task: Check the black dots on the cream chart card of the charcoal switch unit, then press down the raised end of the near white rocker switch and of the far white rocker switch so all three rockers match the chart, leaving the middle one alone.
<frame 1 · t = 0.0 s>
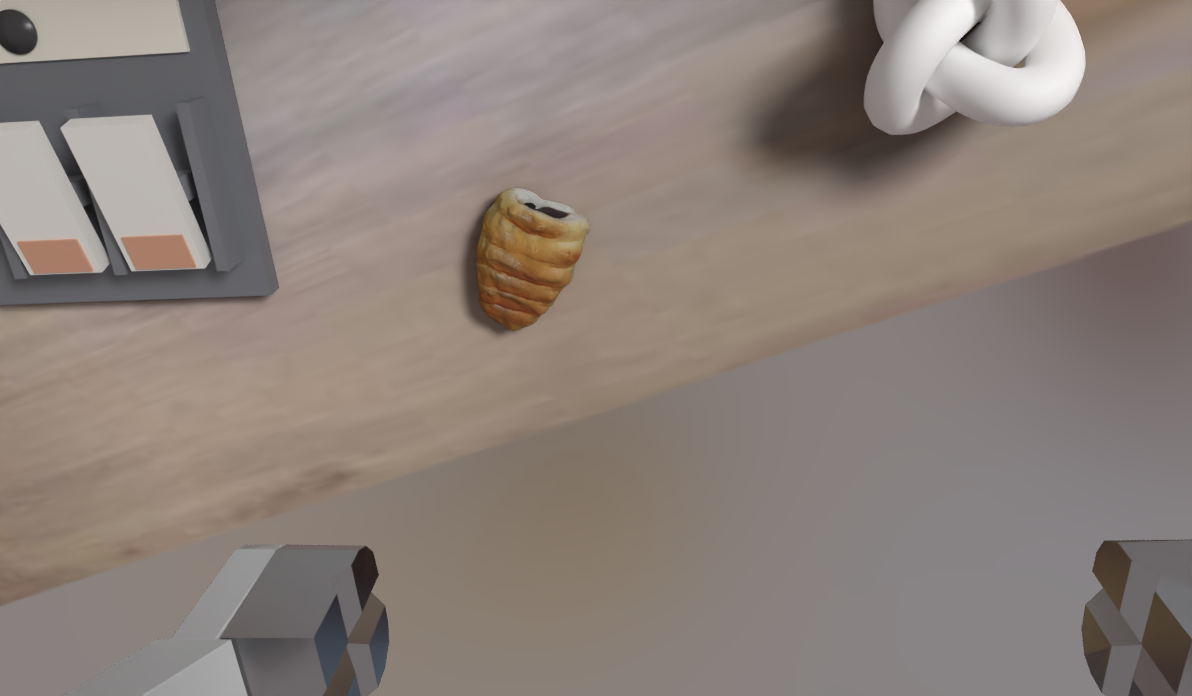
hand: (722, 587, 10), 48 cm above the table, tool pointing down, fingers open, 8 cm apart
pastry: (533, 248, 60), on the table
switch middle: (33, 202, 55), point 5 cm above the table, hinge at 15.0°
switch unit: (64, 122, 58), on the table
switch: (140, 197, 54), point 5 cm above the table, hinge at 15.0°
white knot sculpture: (930, 39, 52), on the table
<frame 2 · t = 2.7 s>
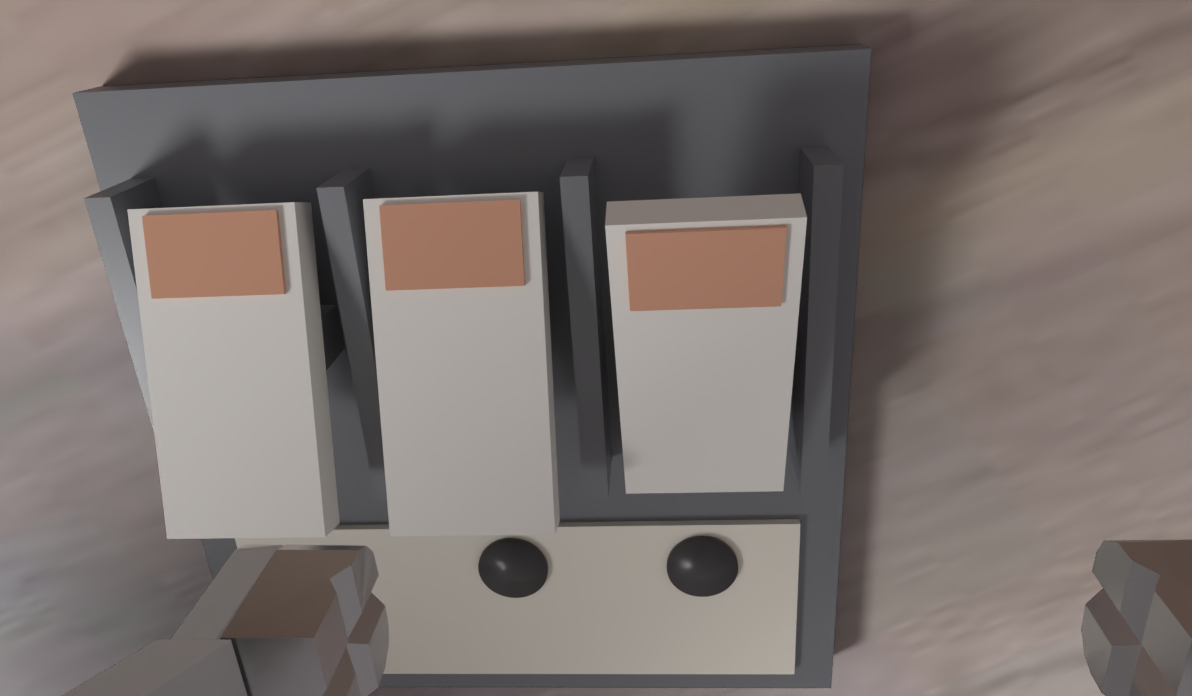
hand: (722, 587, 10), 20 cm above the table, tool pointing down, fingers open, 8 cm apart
switch middle: (465, 367, 26), point 5 cm above the table, hinge at 15.0°
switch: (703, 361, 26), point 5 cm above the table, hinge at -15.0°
switch unit: (505, 407, 32), on the table
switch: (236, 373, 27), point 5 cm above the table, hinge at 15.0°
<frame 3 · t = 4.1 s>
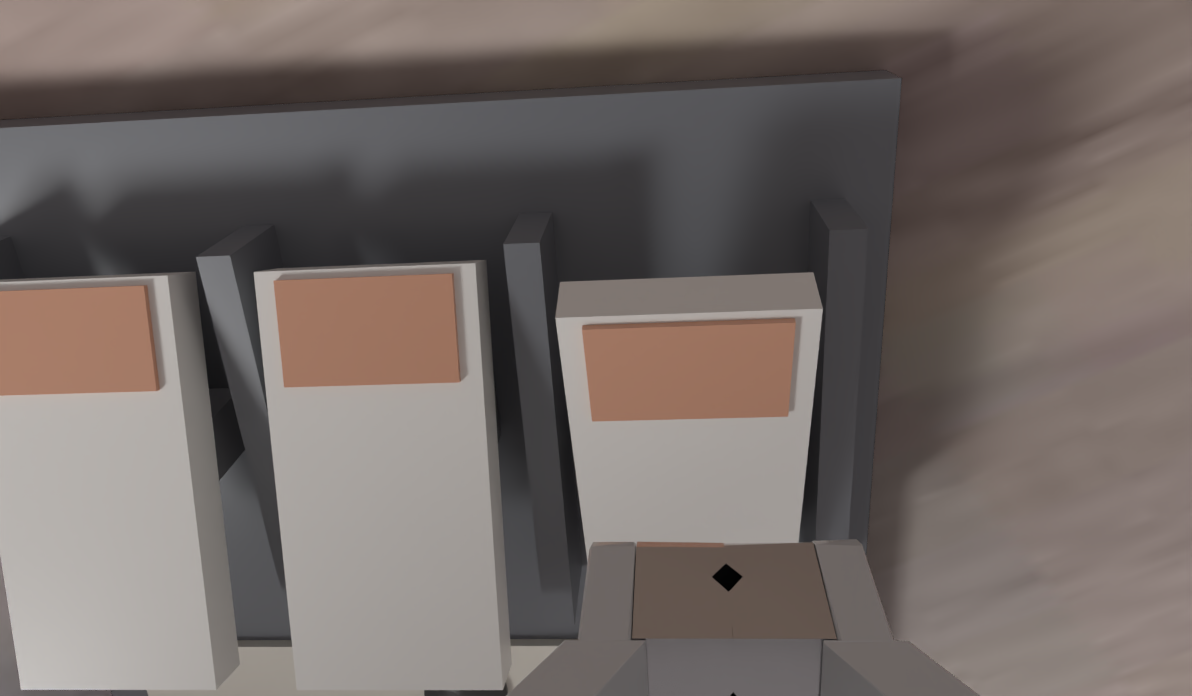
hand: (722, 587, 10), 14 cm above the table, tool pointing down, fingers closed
switch middle: (388, 479, 21), point 5 cm above the table, hinge at 15.0°
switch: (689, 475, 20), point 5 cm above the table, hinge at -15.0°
switch unit: (455, 502, 27), on the table
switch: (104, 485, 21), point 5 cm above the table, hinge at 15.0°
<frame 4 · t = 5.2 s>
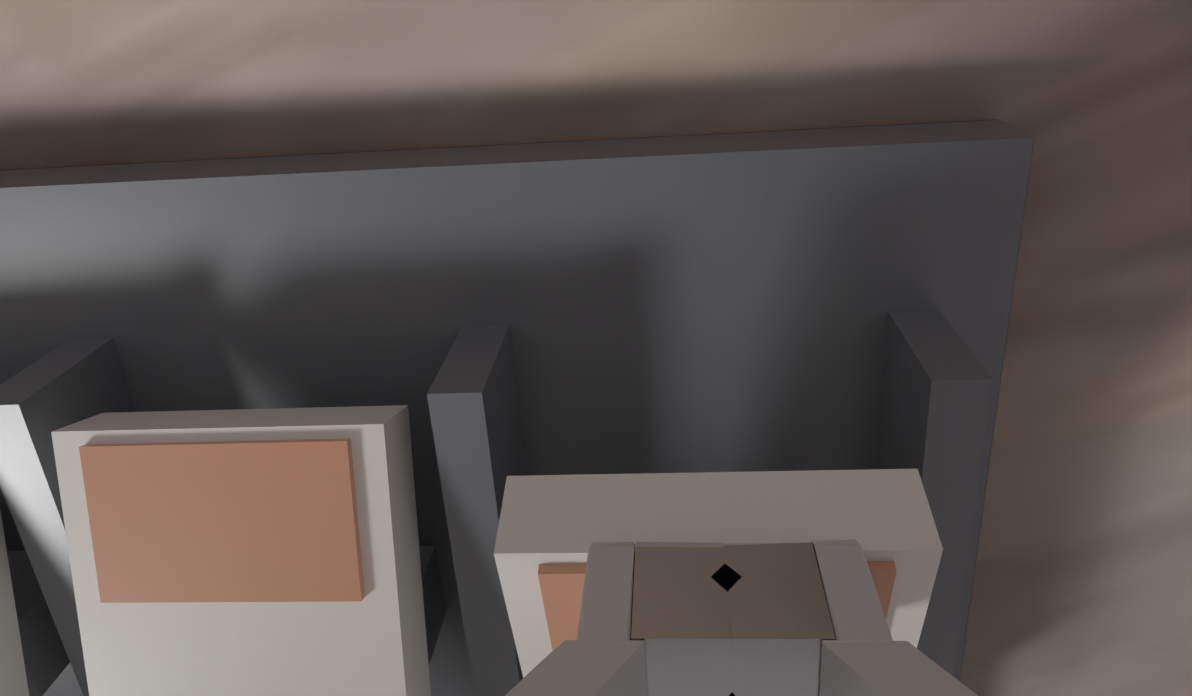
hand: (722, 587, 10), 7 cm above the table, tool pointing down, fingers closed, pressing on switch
switch unit: (393, 678, 20), on the table
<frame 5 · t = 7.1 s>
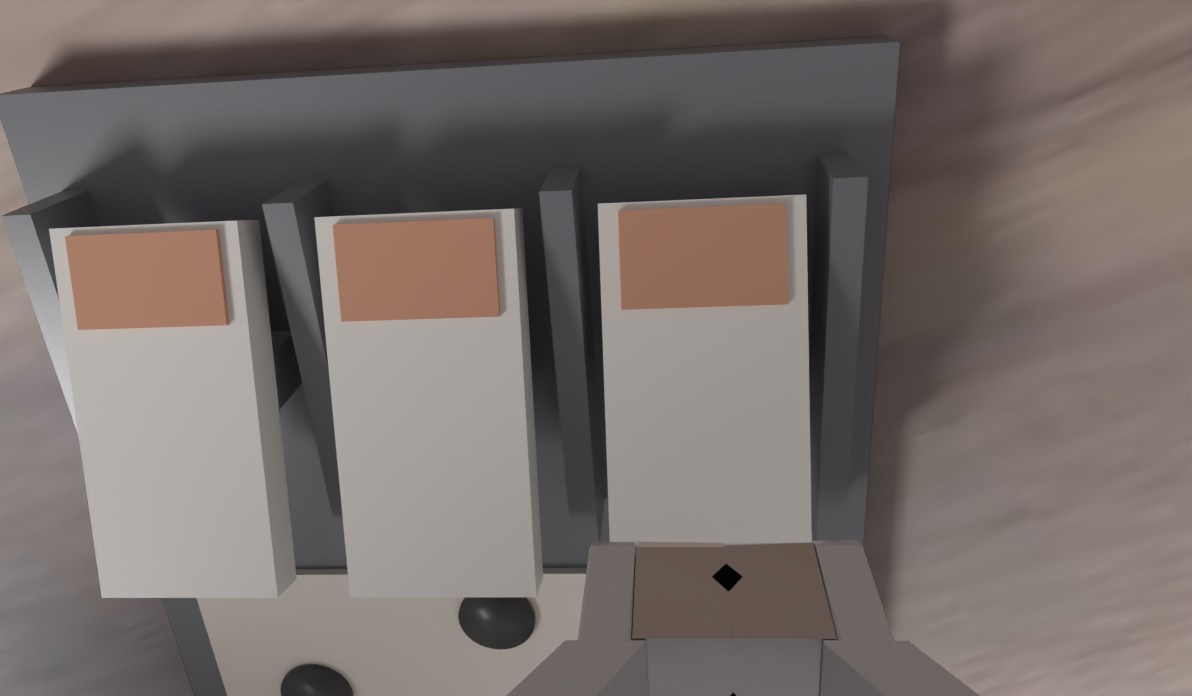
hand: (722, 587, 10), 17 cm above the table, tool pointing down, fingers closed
switch middle: (433, 407, 23), point 5 cm above the table, hinge at 15.0°
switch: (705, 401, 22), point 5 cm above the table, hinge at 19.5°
switch unit: (487, 441, 29), on the table
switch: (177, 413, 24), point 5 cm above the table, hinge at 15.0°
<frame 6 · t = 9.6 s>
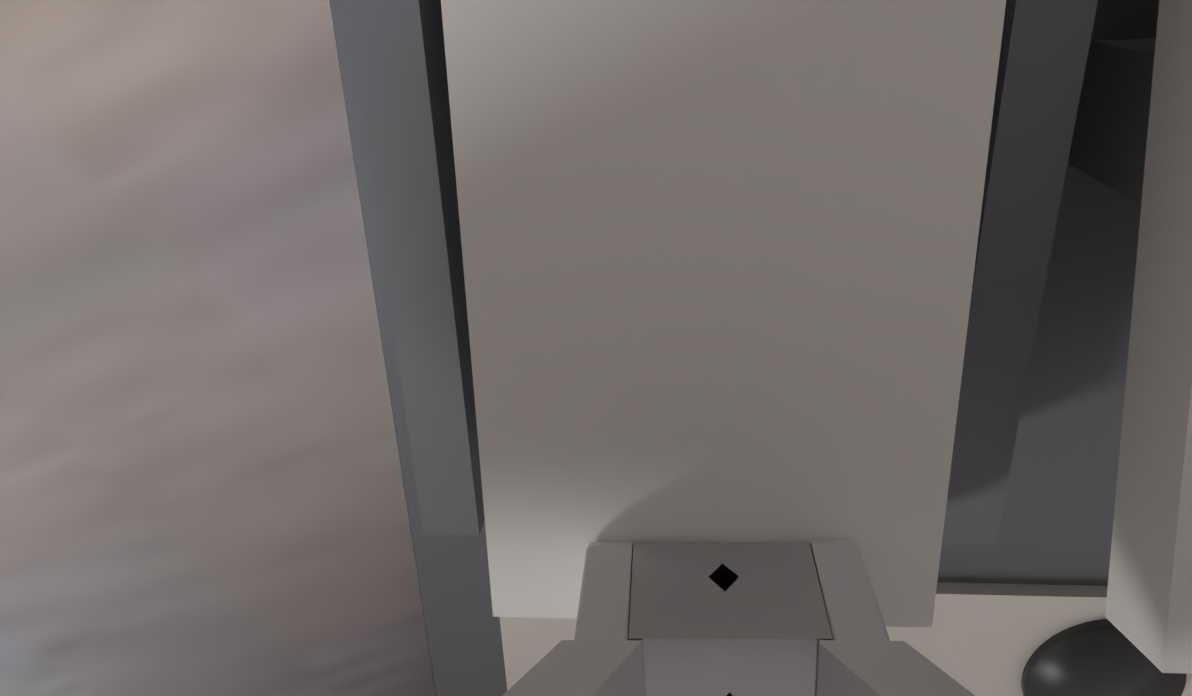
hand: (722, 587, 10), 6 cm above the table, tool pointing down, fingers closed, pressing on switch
switch unit: (1122, 333, 15), on the table
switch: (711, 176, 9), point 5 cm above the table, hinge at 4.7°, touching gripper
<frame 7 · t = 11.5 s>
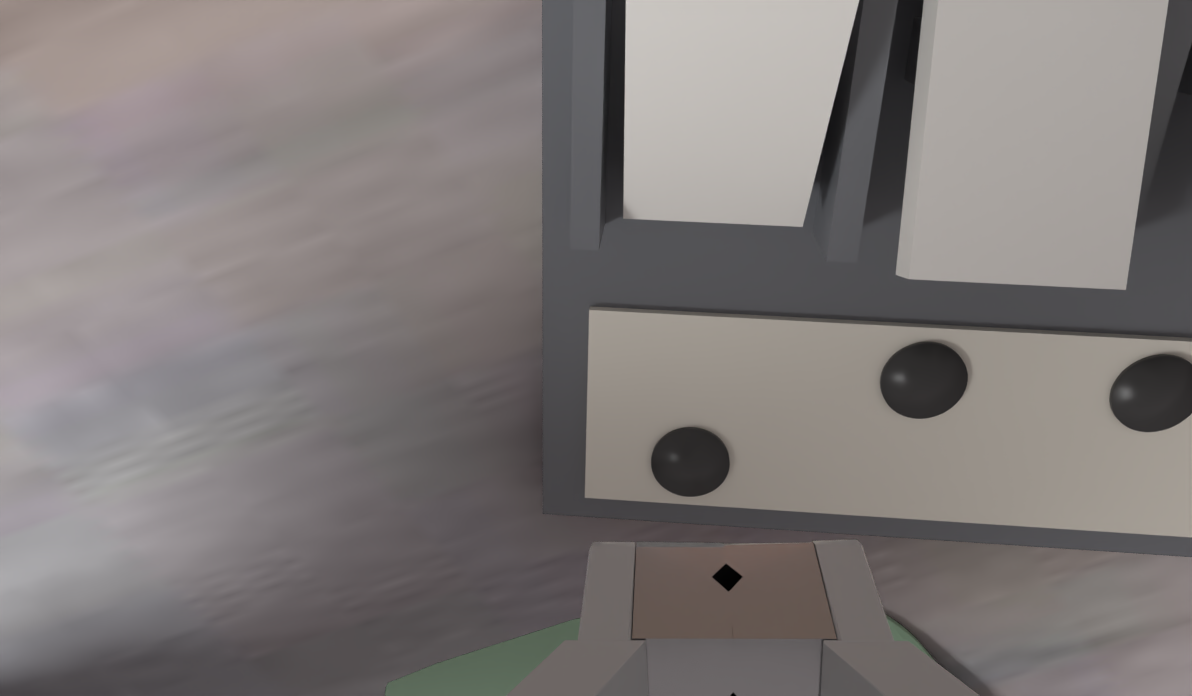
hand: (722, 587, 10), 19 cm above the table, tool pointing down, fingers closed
switch middle: (1034, 68, 21), point 5 cm above the table, hinge at 15.0°
switch unit: (941, 183, 27), on the table
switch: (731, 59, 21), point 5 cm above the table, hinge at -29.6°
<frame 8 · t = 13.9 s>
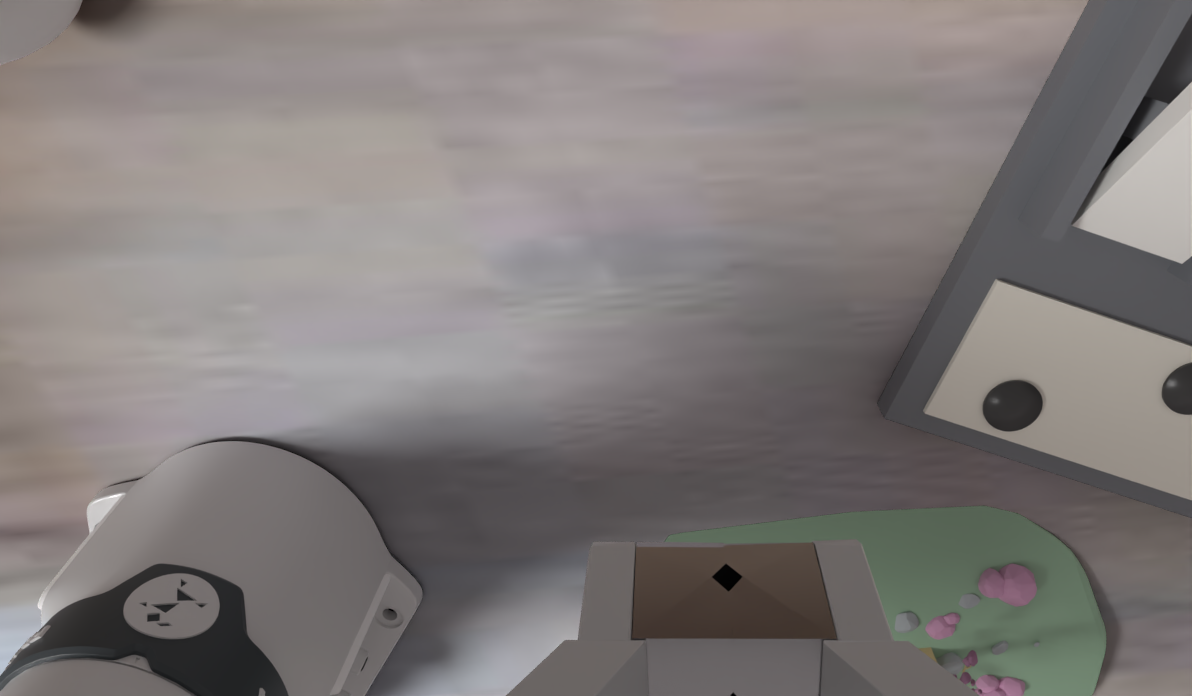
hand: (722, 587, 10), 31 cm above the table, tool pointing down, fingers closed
plant: (864, 626, 50), on the table
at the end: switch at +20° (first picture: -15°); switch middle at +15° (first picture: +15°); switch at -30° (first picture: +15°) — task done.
